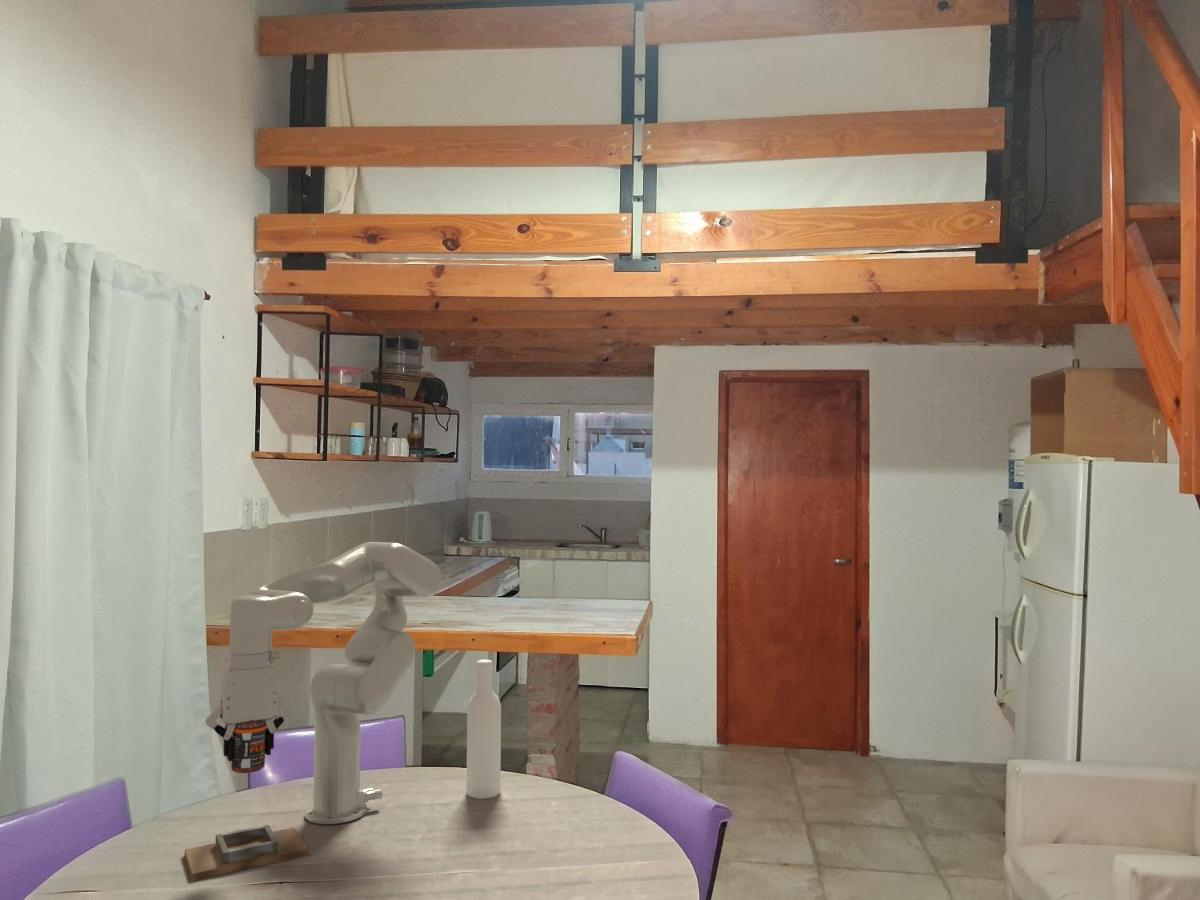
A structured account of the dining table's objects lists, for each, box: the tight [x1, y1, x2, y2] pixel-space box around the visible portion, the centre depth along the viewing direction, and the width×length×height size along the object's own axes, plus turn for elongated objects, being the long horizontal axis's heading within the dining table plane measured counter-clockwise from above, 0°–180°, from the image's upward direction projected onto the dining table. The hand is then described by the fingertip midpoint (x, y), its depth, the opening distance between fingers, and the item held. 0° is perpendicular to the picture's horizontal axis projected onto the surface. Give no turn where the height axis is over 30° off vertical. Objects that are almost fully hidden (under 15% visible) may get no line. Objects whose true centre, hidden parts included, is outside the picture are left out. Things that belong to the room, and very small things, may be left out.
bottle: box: [465, 659, 502, 800], centre depth 195 cm, size 8×8×30 cm
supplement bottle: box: [230, 720, 267, 774], centre depth 162 cm, size 6×6×11 cm
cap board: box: [184, 824, 309, 881], centre depth 161 cm, size 20×12×3 cm, turn 122°
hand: (248, 755), depth 162 cm, fingers closed on supplement bottle, 6 cm apart
